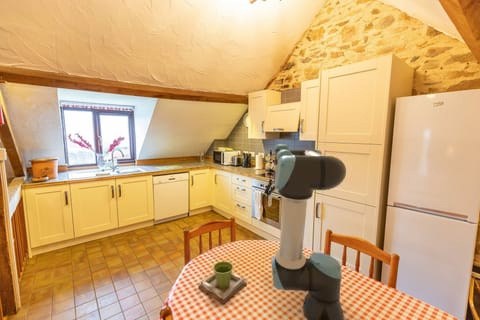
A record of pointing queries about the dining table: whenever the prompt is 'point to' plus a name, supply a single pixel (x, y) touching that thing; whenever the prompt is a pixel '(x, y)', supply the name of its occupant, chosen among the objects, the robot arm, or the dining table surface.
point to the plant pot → (223, 273)
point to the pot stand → (222, 293)
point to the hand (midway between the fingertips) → (280, 208)
